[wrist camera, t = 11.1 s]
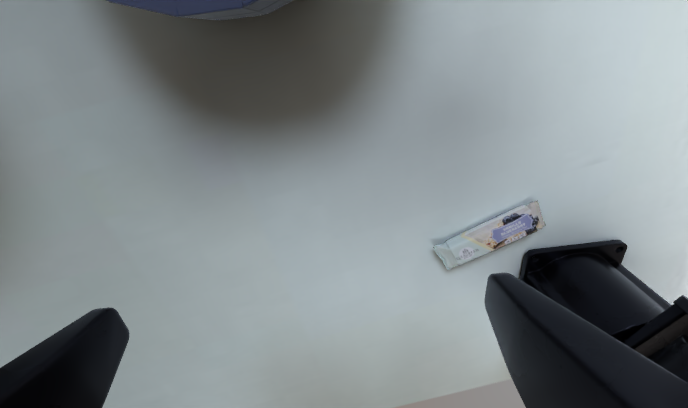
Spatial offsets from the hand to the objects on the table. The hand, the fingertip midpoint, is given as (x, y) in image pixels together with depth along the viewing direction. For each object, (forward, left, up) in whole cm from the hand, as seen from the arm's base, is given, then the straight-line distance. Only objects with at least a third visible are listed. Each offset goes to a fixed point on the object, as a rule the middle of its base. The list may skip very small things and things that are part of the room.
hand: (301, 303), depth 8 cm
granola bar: (-10, +7, -11) cm, 16 cm away
